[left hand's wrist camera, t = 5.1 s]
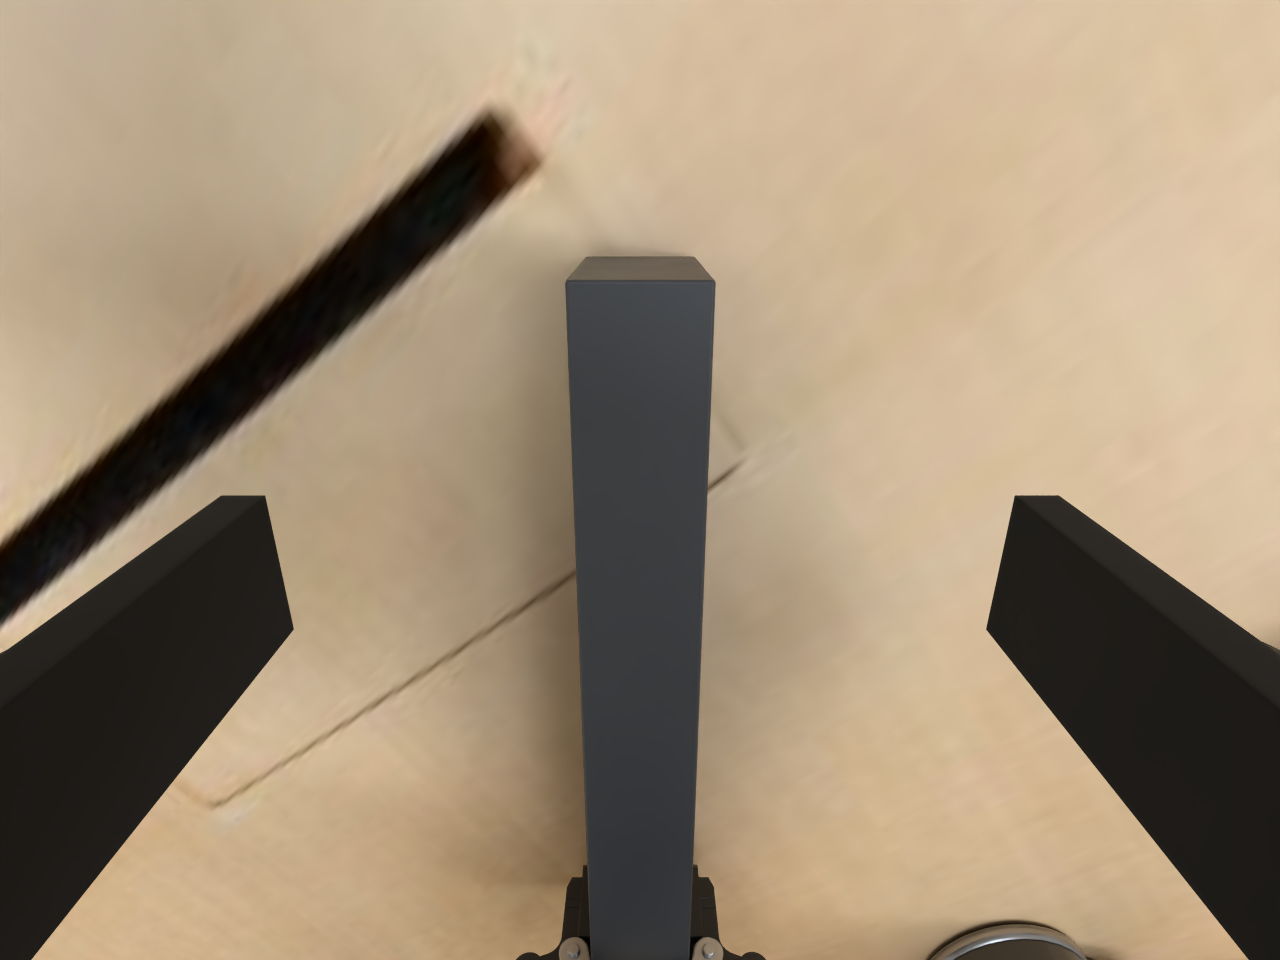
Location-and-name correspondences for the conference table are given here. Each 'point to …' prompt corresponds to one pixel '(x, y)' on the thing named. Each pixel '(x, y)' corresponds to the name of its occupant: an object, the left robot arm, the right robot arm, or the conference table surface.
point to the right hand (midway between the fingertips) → (640, 878)
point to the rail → (640, 585)
